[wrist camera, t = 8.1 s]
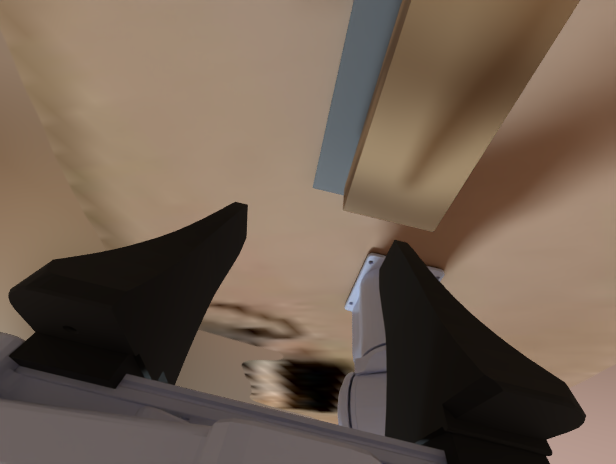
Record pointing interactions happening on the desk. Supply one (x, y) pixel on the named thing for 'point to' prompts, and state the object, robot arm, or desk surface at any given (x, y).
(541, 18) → the shelf board
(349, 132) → the peg stand
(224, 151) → the desk surface
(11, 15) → the desk surface
